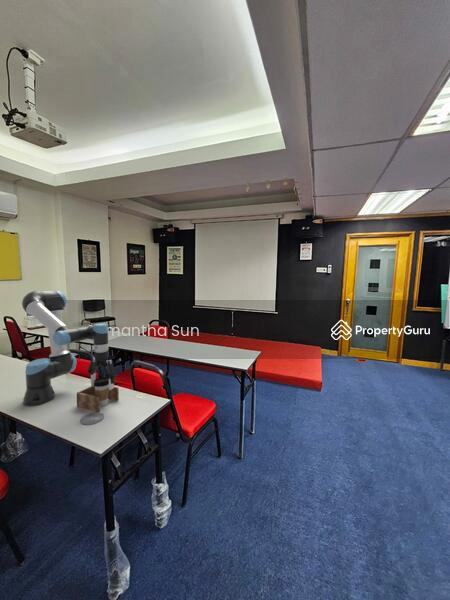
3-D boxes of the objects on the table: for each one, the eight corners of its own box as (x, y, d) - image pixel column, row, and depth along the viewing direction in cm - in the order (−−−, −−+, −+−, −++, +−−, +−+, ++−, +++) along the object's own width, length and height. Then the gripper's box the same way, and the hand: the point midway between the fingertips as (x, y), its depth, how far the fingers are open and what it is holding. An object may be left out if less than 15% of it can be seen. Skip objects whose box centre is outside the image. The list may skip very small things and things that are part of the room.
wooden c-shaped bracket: (76, 406, 146) (76, 392, 145) (98, 395, 160) (98, 382, 159) (98, 412, 140) (97, 398, 139) (118, 400, 154) (118, 387, 153)
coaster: (75, 421, 131) (75, 420, 131) (93, 411, 141) (93, 410, 141) (91, 426, 127) (91, 425, 127) (108, 415, 137) (108, 414, 137)
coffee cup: (103, 408, 144) (103, 382, 143) (90, 406, 146) (90, 381, 144) (113, 401, 152) (112, 377, 151) (100, 400, 154) (100, 375, 153)
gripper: (79, 350, 147) (80, 386, 149) (113, 355, 138) (114, 393, 140) (90, 347, 154) (91, 381, 156) (123, 351, 145) (124, 387, 147)
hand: (102, 387), depth 148 cm, fingers open, 13 cm apart
